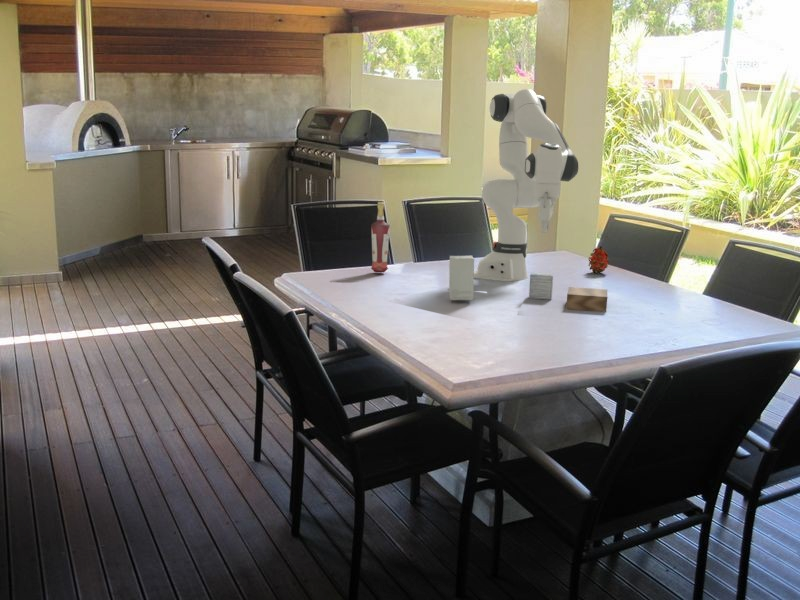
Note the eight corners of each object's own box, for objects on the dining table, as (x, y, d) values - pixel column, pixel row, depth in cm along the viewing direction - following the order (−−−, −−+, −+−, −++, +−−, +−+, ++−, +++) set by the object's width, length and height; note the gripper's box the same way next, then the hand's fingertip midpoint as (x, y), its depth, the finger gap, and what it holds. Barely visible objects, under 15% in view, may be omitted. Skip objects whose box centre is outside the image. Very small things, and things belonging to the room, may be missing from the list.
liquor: (388, 273, 339) (389, 203, 333) (370, 272, 339) (371, 203, 333) (388, 270, 346) (390, 201, 340) (370, 269, 346) (372, 201, 340)
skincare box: (471, 296, 298) (473, 255, 294) (473, 300, 292) (475, 258, 289) (447, 296, 297) (449, 254, 294) (449, 300, 291) (451, 257, 288)
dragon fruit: (584, 272, 352) (586, 243, 350) (605, 272, 352) (607, 244, 350) (589, 275, 344) (591, 246, 341) (610, 276, 344) (612, 247, 341)
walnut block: (566, 308, 282) (567, 294, 281) (568, 301, 294) (568, 286, 293) (606, 311, 279) (607, 296, 278) (606, 303, 292) (607, 289, 290)
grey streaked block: (552, 297, 300) (553, 273, 298) (551, 300, 295) (552, 275, 294) (529, 296, 301) (531, 272, 299) (528, 298, 297) (530, 274, 295)
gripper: (554, 194, 279) (552, 235, 282) (558, 189, 299) (555, 228, 302) (535, 193, 281) (533, 234, 284) (540, 188, 300) (537, 227, 303)
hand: (544, 231), depth 293 cm, fingers open, 4 cm apart
